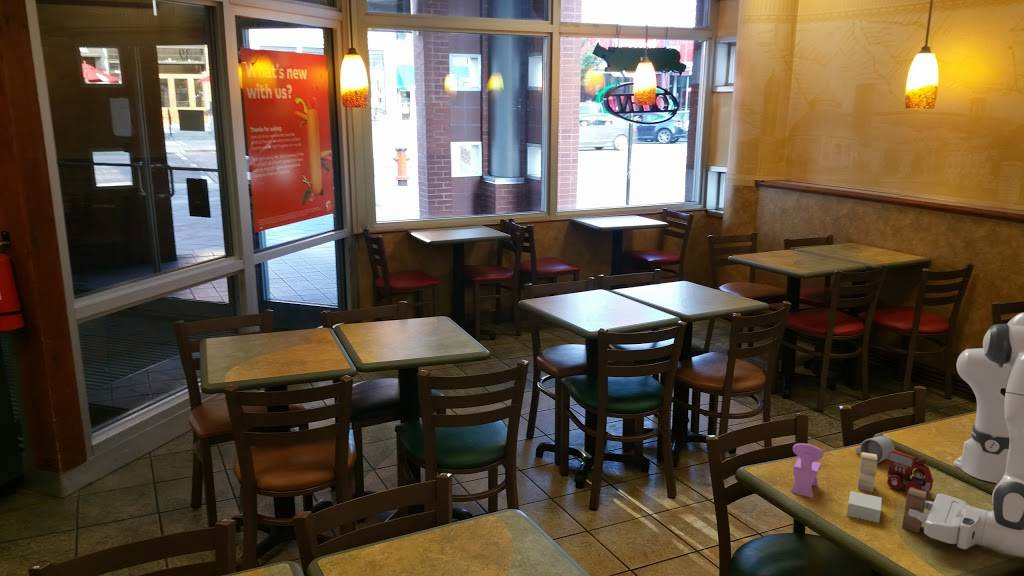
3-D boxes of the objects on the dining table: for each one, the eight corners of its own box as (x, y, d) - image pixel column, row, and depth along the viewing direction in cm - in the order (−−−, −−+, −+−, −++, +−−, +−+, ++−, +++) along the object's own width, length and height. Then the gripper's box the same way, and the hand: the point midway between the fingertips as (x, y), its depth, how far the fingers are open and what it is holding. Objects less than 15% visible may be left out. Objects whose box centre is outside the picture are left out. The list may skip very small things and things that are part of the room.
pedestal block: (848, 503, 217) (850, 490, 216) (879, 510, 214) (881, 497, 213) (846, 516, 210) (848, 503, 209) (878, 524, 207) (880, 510, 206)
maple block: (857, 483, 229) (861, 452, 226) (872, 485, 227) (876, 454, 225) (858, 489, 225) (862, 457, 223) (873, 491, 224) (877, 460, 221)
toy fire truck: (925, 500, 219) (930, 467, 217) (880, 485, 228) (885, 452, 226) (934, 493, 224) (939, 459, 222) (889, 477, 233) (894, 445, 230)
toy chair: (822, 486, 226) (828, 438, 223) (816, 498, 219) (822, 449, 215) (792, 479, 230) (798, 432, 227) (786, 491, 223) (792, 442, 220)
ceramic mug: (895, 460, 244) (898, 437, 242) (881, 467, 239) (884, 444, 238) (863, 449, 252) (865, 427, 251) (849, 455, 248) (852, 432, 246)
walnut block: (904, 521, 208) (910, 487, 205) (921, 526, 205) (926, 492, 203) (902, 527, 204) (907, 493, 202) (918, 532, 202) (924, 497, 200)
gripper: (977, 497, 204) (919, 481, 212) (967, 529, 188) (905, 511, 196) (973, 518, 205) (916, 502, 213) (963, 552, 189) (902, 533, 197)
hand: (910, 507), depth 204 cm, fingers closed on walnut block, 4 cm apart
